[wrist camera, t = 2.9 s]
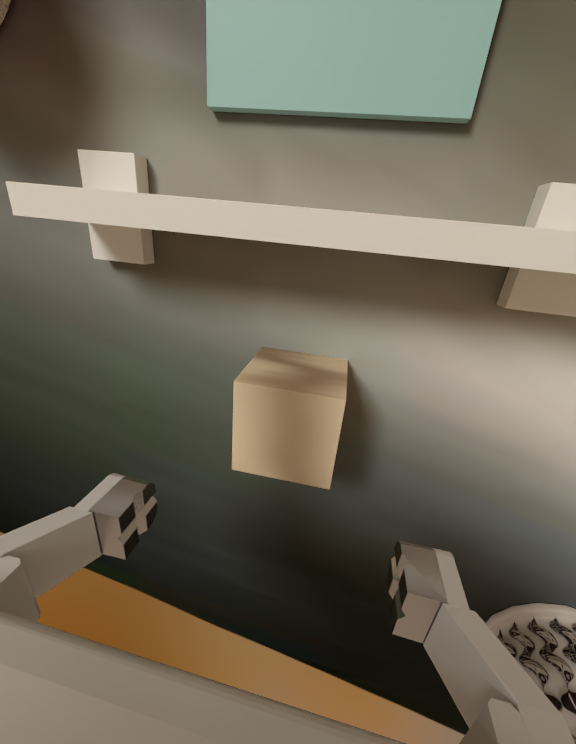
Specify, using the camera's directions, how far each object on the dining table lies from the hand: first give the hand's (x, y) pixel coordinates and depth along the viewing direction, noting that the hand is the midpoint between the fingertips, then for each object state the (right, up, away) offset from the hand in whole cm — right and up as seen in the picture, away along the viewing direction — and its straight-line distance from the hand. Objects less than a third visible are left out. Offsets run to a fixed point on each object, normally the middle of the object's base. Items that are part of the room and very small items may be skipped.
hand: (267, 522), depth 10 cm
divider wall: (+2, +12, +5) cm, 13 cm away
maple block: (+1, +4, +9) cm, 10 cm away
